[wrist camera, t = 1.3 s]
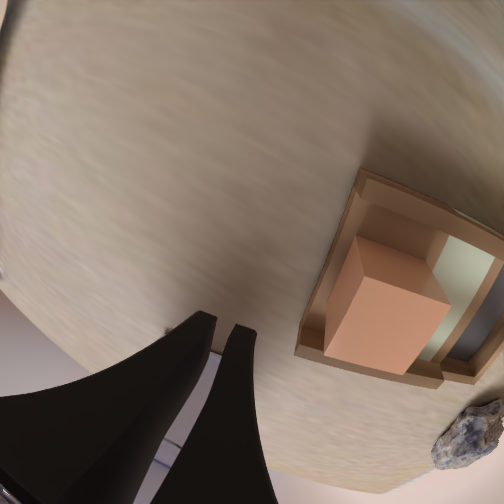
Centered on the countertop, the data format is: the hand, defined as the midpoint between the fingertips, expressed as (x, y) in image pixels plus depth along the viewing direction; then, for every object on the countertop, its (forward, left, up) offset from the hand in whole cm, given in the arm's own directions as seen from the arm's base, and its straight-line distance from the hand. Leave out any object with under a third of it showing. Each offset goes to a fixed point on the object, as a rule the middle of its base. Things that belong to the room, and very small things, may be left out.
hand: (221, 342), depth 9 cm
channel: (0, -10, -9) cm, 14 cm away
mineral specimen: (-14, -26, -10) cm, 31 cm away
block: (0, -6, -8) cm, 10 cm away
